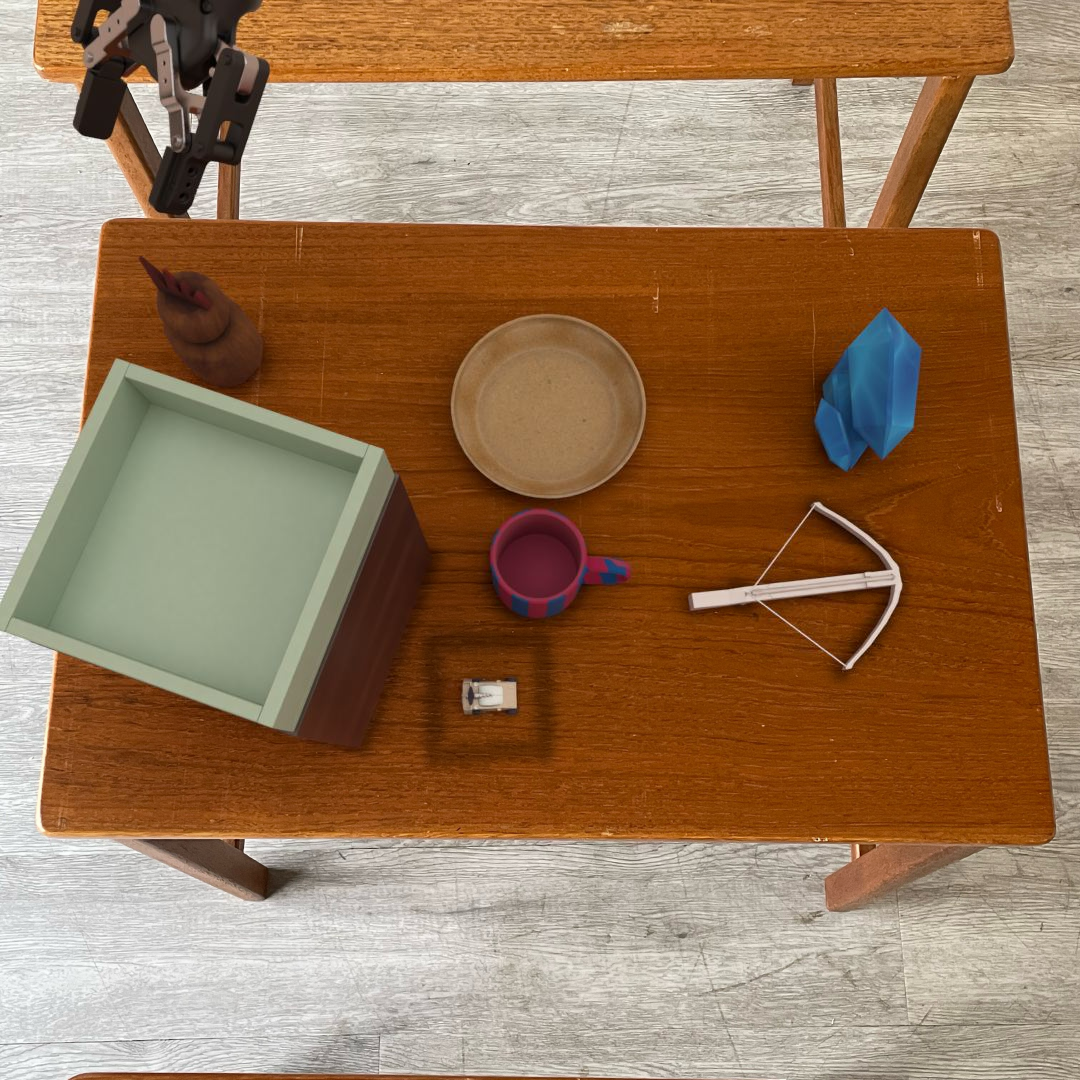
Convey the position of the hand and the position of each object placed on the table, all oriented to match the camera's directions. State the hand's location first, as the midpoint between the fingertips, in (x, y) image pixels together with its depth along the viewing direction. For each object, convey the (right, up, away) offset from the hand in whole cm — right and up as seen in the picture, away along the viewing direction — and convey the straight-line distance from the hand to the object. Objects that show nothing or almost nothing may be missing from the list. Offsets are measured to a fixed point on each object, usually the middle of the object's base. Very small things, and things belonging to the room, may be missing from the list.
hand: (127, 172), depth 62 cm
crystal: (+48, -12, +20) cm, 54 cm away
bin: (+7, -23, -6) cm, 25 cm away
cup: (+26, -25, +17) cm, 40 cm away
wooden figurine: (0, -8, +20) cm, 21 cm away
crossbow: (+44, -26, +17) cm, 53 cm away
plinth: (+7, -27, +15) cm, 32 cm away
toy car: (+21, -33, +15) cm, 42 cm away
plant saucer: (+25, -12, +20) cm, 34 cm away
